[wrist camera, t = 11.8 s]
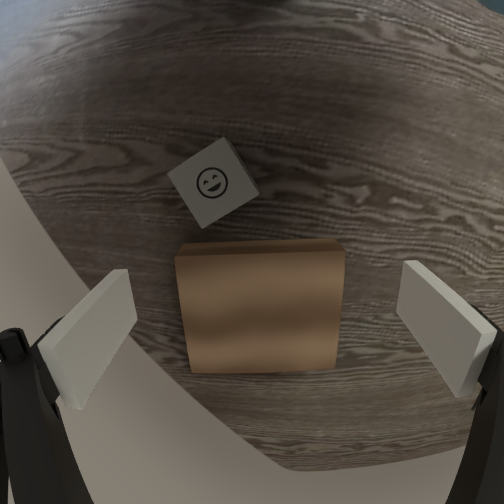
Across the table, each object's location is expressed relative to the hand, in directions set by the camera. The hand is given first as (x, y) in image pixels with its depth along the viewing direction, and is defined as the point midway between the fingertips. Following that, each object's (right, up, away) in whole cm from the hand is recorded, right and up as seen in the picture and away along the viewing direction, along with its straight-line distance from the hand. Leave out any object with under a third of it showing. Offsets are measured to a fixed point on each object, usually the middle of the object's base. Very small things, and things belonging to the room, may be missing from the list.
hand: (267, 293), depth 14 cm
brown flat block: (0, -3, +17) cm, 17 cm away
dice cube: (-2, +5, +11) cm, 13 cm away
